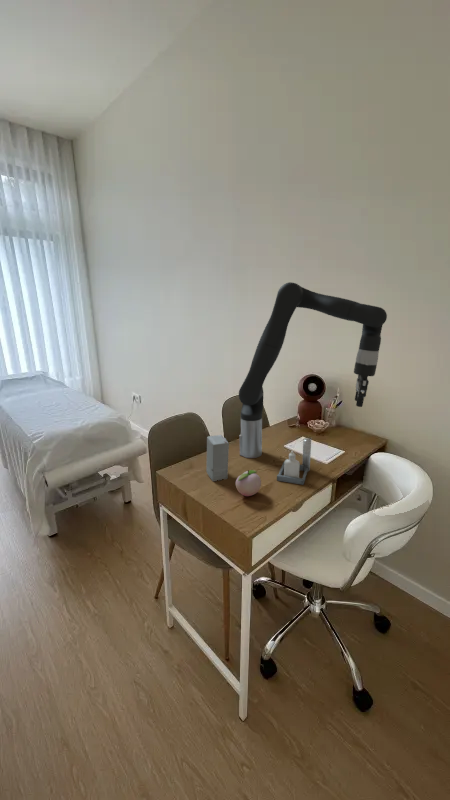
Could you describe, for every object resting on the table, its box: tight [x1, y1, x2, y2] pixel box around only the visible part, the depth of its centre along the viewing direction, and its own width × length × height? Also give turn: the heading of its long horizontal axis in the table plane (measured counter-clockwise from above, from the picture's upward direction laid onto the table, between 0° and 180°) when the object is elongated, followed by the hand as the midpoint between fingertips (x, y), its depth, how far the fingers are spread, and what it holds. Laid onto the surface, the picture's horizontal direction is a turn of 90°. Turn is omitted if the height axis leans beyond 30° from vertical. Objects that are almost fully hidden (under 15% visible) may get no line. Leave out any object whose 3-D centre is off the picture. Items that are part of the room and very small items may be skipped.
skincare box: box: [206, 434, 230, 482], centre depth 134 cm, size 8×7×16 cm
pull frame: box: [276, 437, 312, 486], centre depth 133 cm, size 11×14×13 cm
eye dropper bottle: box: [283, 450, 300, 478], centre depth 130 cm, size 4×6×12 cm
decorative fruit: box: [235, 469, 262, 497], centre depth 120 cm, size 9×8×10 cm
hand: (358, 403), depth 133 cm, fingers open, 8 cm apart
